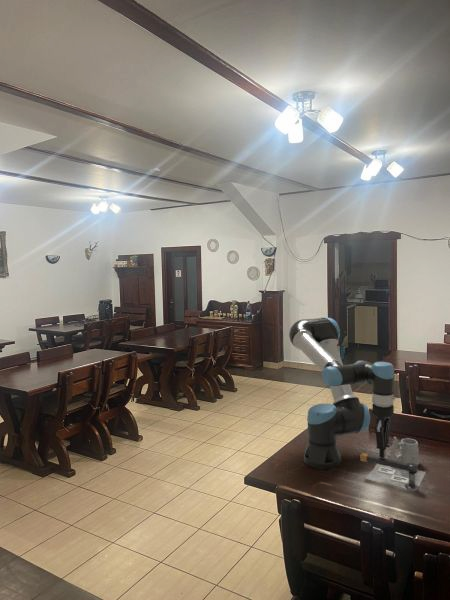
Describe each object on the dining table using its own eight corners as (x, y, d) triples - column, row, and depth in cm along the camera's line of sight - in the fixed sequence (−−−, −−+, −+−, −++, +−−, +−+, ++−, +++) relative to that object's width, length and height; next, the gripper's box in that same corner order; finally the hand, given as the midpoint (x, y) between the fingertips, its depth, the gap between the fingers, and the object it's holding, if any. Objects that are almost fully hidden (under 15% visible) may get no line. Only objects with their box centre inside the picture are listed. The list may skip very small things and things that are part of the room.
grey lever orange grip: (418, 470, 164) (418, 464, 164) (416, 474, 161) (416, 468, 161) (363, 457, 176) (363, 452, 176) (359, 461, 173) (359, 455, 173)
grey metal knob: (403, 490, 164) (403, 473, 163) (406, 484, 168) (406, 467, 167) (417, 494, 161) (417, 476, 161) (420, 488, 165) (420, 470, 165)
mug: (423, 468, 181) (423, 439, 180) (394, 470, 180) (394, 441, 179) (413, 460, 188) (413, 431, 187) (386, 462, 187) (386, 433, 186)
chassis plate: (366, 480, 172) (366, 478, 172) (378, 463, 186) (378, 461, 186) (416, 493, 162) (416, 491, 162) (425, 474, 176) (425, 472, 176)
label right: (390, 480, 170) (390, 478, 170) (393, 475, 173) (393, 474, 173) (407, 484, 167) (407, 482, 167) (409, 479, 170) (409, 478, 170)
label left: (377, 471, 177) (377, 470, 177) (380, 467, 181) (380, 466, 180) (393, 475, 174) (393, 474, 174) (395, 471, 177) (395, 469, 177)
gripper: (388, 410, 162) (388, 474, 164) (397, 400, 173) (397, 460, 175) (367, 407, 166) (367, 469, 168) (377, 397, 177) (377, 455, 179)
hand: (382, 464), depth 172 cm, fingers closed
